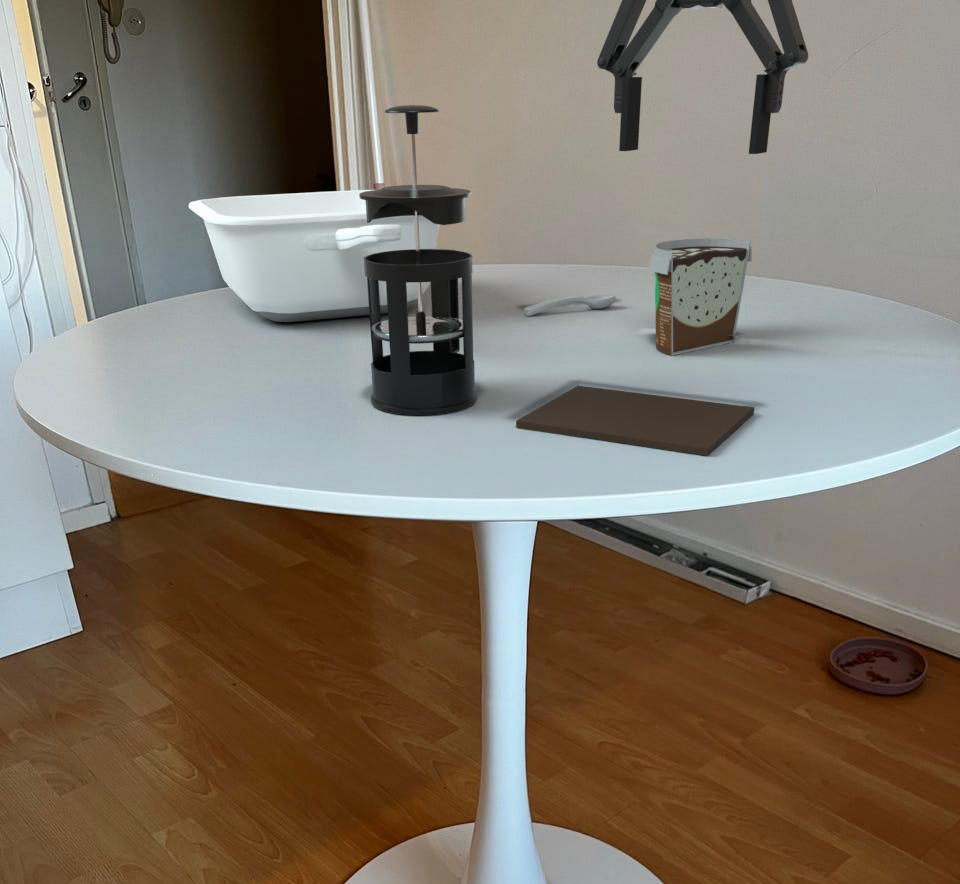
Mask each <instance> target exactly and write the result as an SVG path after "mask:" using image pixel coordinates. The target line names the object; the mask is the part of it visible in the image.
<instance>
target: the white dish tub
mask: <svg viewBox="0 0 960 884" xmlns="http://www.w3.org/2000/svg"><path fill="white" fill-rule="evenodd" d="M372 190H373V189H353V190H350V189H349V190H334V191H332V190H331V191H313V192H312V191H311V192H297V193H293V192H292V193H276V194H256V195H254V194H253V195H238V196H237V195H236V196H224V197H213V198H205V199H198V200H193V201H190V202H189V203H188V209H189V210H191V211H192V212H193V213H194V214H196V215H197V216H198V217H200V218H201V219H202V220H203V223H204V226H205V229H206V232H207V235H208V238H209V241H210V244H211V247H212V250H213V253H214V256H215V259H216V262H217V265H218V268H219V271H220V274H221V277H222V279H223V281H224V282H225V284H226V285H227V286H228V287H229V288H230V289H231V291H232V292H234V293H235V295H237V297H239V298H240V300H242V302H244V303H245V304H246V305H247V306H248V307H249V308H250V309H251V310H252V311H253V312H255V313H256V314H258V315H259V316H260V317H263V318H266V319H268V320H270V321H272V322H277V323H278V322H279V323H296V322H307V321H316V320H317V321H318V320H329V319H339V318H350V317H362V316H370V314H369V299H368V284H367V277H366V276H365V269H364V257H365V256H368V255H370V254H374V253H380V252H386V251H395V250H409V249H416V247H415V224H414V216H396V217H386V218H379V219H374V220H372V221H371V222H370V223H367V217H366V202H365V200H363V199H360V196H359V194H360V193H362V192H366V191H372ZM418 219H419V243H420V249H437V245H438V239H439V234H440V228H441V225H439V224H434V223H432V222H431V221H429V220H428V219H426V218H425V217H423V216H422V215H418ZM430 285H431V282H421V290H422V295H424V294H425V292H426V291H427V289H428V287H429V286H430ZM406 286H407V306H408V307H410V306H411V305H413V304H414V303H416V302H417V301H418V292H417V282H407V283H406ZM379 297H380V313H381V315H384V314H388V308H387V291H386V281H379Z"/></svg>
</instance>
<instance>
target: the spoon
mask: <svg viewBox="0 0 960 884" xmlns="http://www.w3.org/2000/svg"><path fill="white" fill-rule="evenodd" d="M615 302H616V295H615V294H613V293H602V294H601V293H599V294H593V295H590V296H587V297H586V296H583V295H572V296H571V295H569V296H562V297H557V298H553V299H549V300H546V301H542V302H538V303H536V304H532V305H529V306H526V307H524V308H523V314H524V316H526V317H532V316H534V315H537V314H539V313H541V312H544V311H547V310H549V309H552V308H555V307H559V306H563V305H567V304H572V303H581V304H584V305H587V306H588V307H589V308H590V309H595V310H600V309H605V308H609V307H610V306H611V305H613V304H614V303H615Z"/></svg>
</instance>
